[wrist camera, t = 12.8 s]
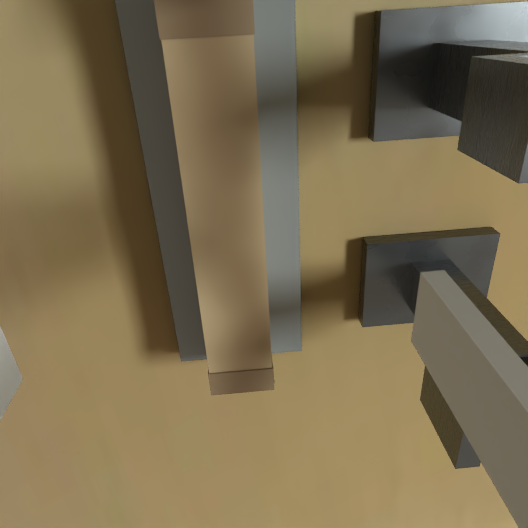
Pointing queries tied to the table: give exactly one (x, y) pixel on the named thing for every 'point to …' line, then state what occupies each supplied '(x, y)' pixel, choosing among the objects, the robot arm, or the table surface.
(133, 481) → the table surface
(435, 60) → the post near
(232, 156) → the rail
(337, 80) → the table surface
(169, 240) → the mat
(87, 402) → the table surface
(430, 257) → the post far
